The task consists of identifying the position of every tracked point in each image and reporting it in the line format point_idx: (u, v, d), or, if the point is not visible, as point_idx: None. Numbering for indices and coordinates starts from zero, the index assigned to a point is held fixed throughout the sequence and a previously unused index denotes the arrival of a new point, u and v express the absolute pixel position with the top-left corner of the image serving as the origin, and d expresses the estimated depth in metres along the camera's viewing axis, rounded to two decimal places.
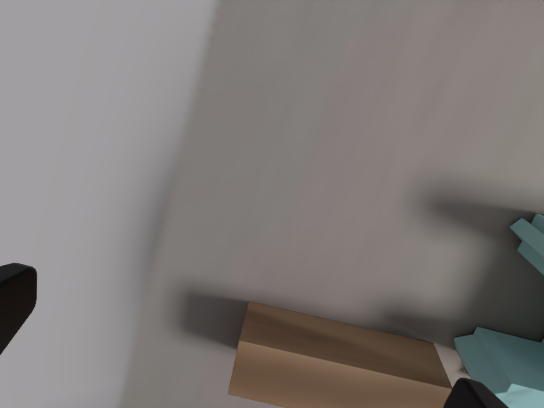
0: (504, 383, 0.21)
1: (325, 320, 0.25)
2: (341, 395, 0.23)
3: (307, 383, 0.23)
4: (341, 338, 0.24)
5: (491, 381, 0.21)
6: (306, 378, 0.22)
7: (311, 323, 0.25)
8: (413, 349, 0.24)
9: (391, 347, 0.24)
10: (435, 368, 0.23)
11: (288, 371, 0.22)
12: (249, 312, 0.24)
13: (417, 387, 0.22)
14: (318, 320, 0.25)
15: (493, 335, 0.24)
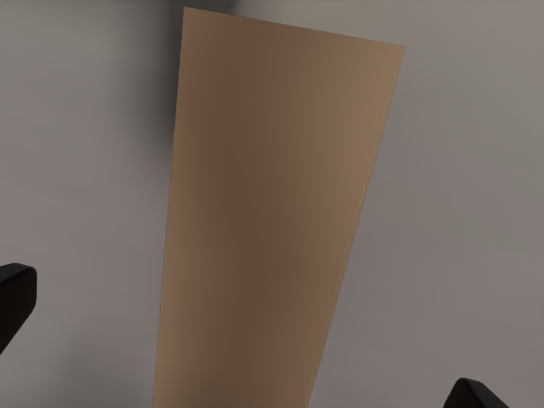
0: None
1: None
2: (255, 294, 0.09)
3: (230, 360, 0.10)
4: None
5: None
6: (217, 362, 0.10)
7: None
8: None
9: None
10: None
11: (204, 393, 0.10)
12: None
13: (195, 114, 0.08)
14: None
15: None
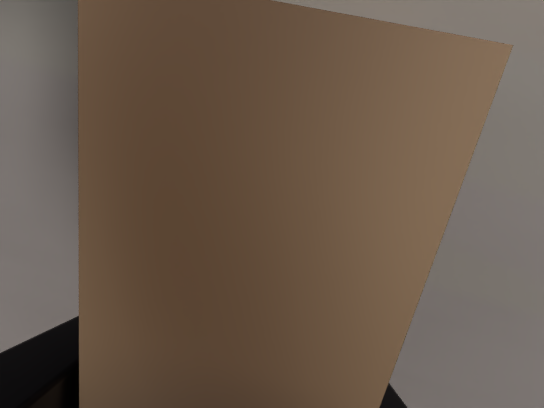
0: None
1: None
2: None
3: None
4: None
5: None
6: None
7: None
8: None
9: None
10: None
11: None
12: None
13: (113, 166, 0.04)
14: None
15: None
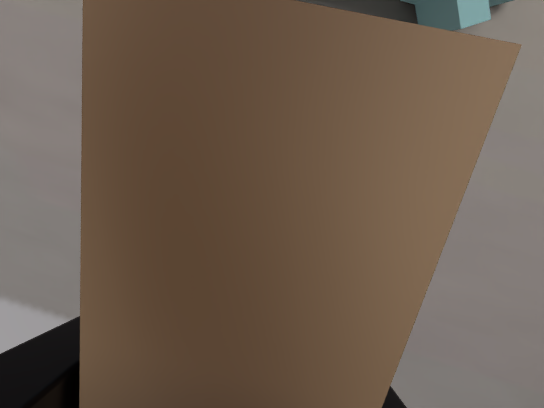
0: None
1: None
2: None
3: None
4: None
5: (447, 4, 0.12)
6: None
7: None
8: None
9: None
10: None
11: None
12: None
13: (116, 162, 0.04)
14: None
15: None
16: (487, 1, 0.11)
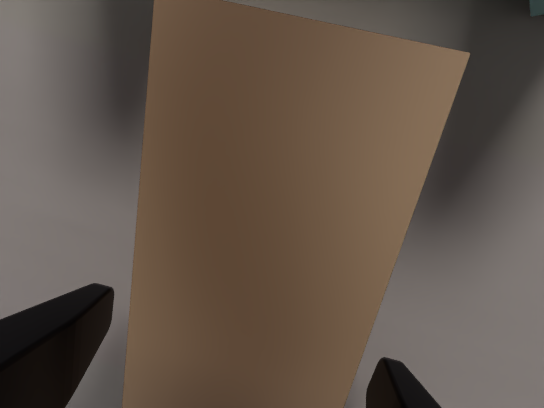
0: None
1: None
2: (246, 370, 0.07)
3: None
4: None
5: None
6: None
7: None
8: None
9: None
10: None
11: None
12: None
13: (170, 137, 0.06)
14: None
15: None
16: None
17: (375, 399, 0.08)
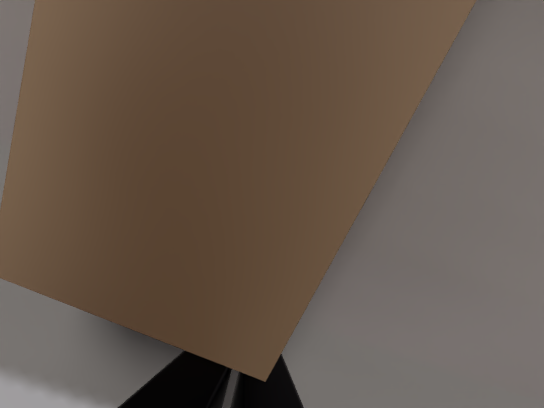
0: None
1: None
2: None
3: None
4: None
5: None
6: (196, 0, 0.04)
7: None
8: None
9: None
10: None
11: (144, 97, 0.04)
12: None
13: None
14: None
15: None
16: None
17: None
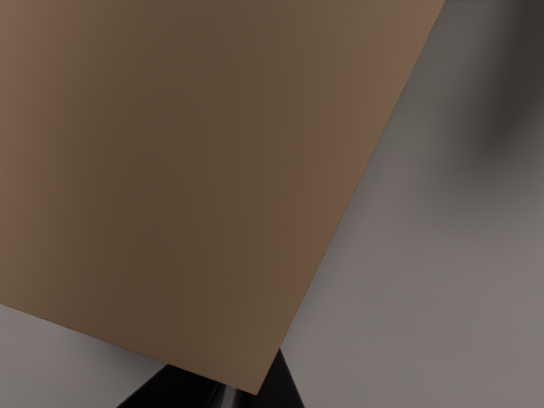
0: None
1: None
2: None
3: None
4: None
5: None
6: (157, 3, 0.04)
7: None
8: None
9: None
10: None
11: (113, 105, 0.04)
12: None
13: None
14: None
15: None
16: None
17: None
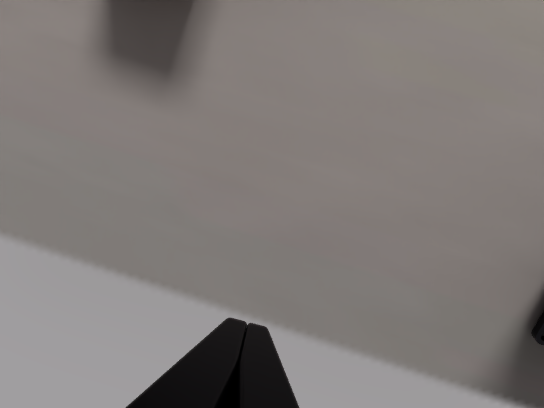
0: None
1: None
2: None
3: None
4: None
5: None
6: None
7: None
8: None
9: None
10: None
11: None
12: None
13: None
14: None
15: None
16: None
17: None
